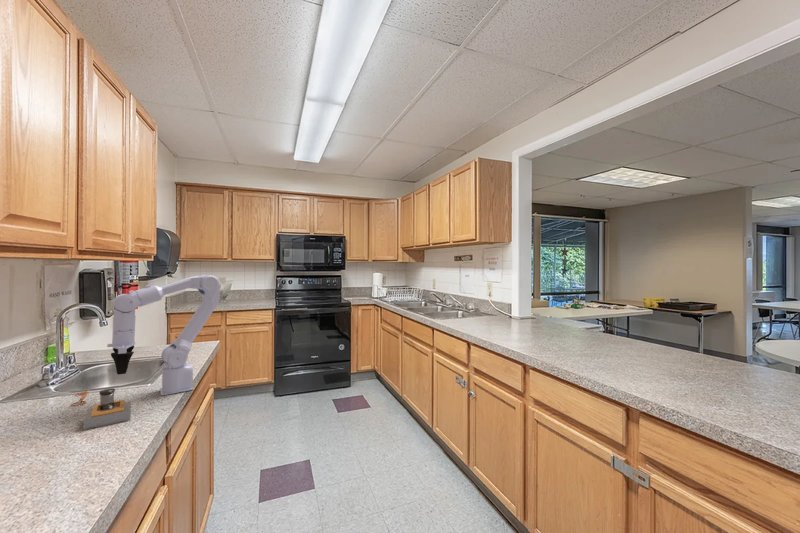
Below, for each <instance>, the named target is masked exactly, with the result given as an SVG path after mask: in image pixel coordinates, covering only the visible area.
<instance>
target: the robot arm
mask: <svg viewBox="0 0 800 533" xmlns="http://www.w3.org/2000/svg"><path fill="white" fill-rule="evenodd" d="M221 287H222V285H221V282H220V280H219V278H218V277H217V276H215V275H213V274H200V275H199V274H198V275H195V276H194V275H193V276H191V277H186V278H183V279H179V280H177V281H174V282H172V283H169V284H165V285H162V286H158V285H154V284H153V285H151V284H147V285H145V287H143V288H140V289H137V290H133V289H132V290H129V291H128V293H121V294H118V295H117V296H115V297H114V298H113V301H112V303H111V304H112V306H113V307H112V308H114V310H113V315H114V316H113V317H112V318H113V319H112V338H111V339H112V342H111V343H107V345H106V346H107V348H112V350H113V352H111V353H110V357H111V358H112V360H113V361H114V365H115V370H116V373H117V375H118V376H119V375H125V374H127V372H128V368H129V363H130V360H131V358H132V357H133V354H134V348H135V345H136V341H135V335H136V334H135V333H136V309H137V308H138V307H140V308H141V307H143V306H146V305H150V304H153V303H156V302H159V301H161V300H162V299H163V297H164V296H166V295H169V294H172V293H176V292H180V291H183V290H187V289H195V290H198V292H199V293H200V295H201V298H202V301H201V303H200V305H199V306H198V307H197V309H196V310H195V311H194V313H193V315H192V316H191V318H190V319H189V321H188V322H187V323H186V325H185V326H184V328H183V329H182V331H181V332H180V334H179V335H178V336H177V338H176V339H174V340H173V341H171V343H170V344H169V345H168V346H167V347H165V348H164V349H163V350H162V352H161V359H162V361H163V362H164V363H163V364H162V366H161V387H160V388H159V390H160V396H167V395H172V394H176V393H177V394H178V393H184V392H189V391H192V390H194V386H193V385H194V369H193V368H194V366H193V363H187V361H188V357H189V356H188V355H189V353H190V351H191V350H192V344H193V342H194V341H195V340H196V338H197V337H198V334H199V333H200V332H201V330H202V329H203V327H204V326H205V324H206V323H207V321H208V320H209V318H210V317H211V315H212V314H213V312H214V311H215V309H216V308H217V307H218V304H219V302H220V295H221V293H220V292H221V289H222V288H221Z"/></svg>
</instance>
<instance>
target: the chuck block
mask: <svg viewBox="0 0 800 533" xmlns="http://www.w3.org/2000/svg"><path fill="white" fill-rule="evenodd" d="M131 412H132V401H131V400H129V401H126V400H125V399H120V400H114V408H111V409H106V410H101V411H100V403H99V404H94V405H93V407H92V408H88V409H86V412H85V414H84V417H83V431H86V430H90V429H94V428H99V427H103V426H109V425H113V424H117V423H118V424H119V423H123V422H127V421H131V414H132V413H131Z"/></svg>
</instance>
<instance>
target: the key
mask: <svg viewBox="0 0 800 533" xmlns="http://www.w3.org/2000/svg"><path fill="white" fill-rule="evenodd" d="M87 391H89V392H90V389H87V390H86V391H81V392H77V393H76V394H75V395H74V396H73V397H81V398H80V399H79V400H78V402H74V403H72V404H70V406H69V407H79V405H80V406H83V405H85V404H87V401H86V400H84V399H85V398H86V396H88V394H89V392H87ZM82 402H84V403H82Z"/></svg>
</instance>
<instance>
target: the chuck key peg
mask: <svg viewBox="0 0 800 533" xmlns="http://www.w3.org/2000/svg"><path fill="white" fill-rule="evenodd" d="M115 392H116V389H115V388H114V387H113V388H106V389H105V388H104V389H101V390H99V393H98V394H99V400H100V402H99V404H100V411H101V410H106V409H111V408H114V401H115Z"/></svg>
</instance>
